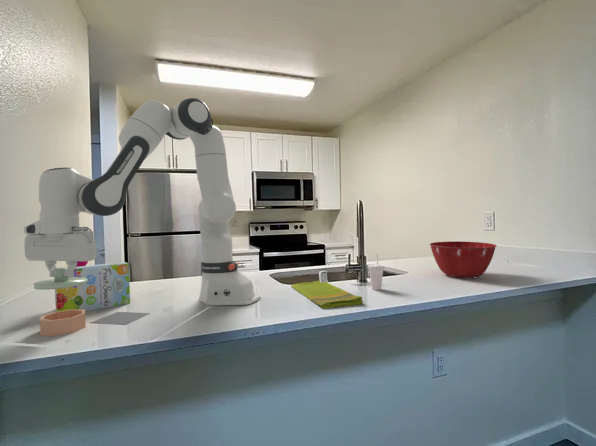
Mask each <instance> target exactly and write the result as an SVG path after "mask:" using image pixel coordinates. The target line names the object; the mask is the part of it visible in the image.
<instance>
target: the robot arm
mask: <svg viewBox="0 0 596 446" xmlns="http://www.w3.org/2000/svg"><path fill="white" fill-rule="evenodd" d="M165 135H166V136H168V137H170V138H171V139H173V140H179V141H180V140H181V141H182V140H186V139H188V138H189V139H190V140H191V142H192V144H193V147H194V158H195V159H194V160H195V166H196V167H195V168H196V178H197V182H198V185H199V190H200V195H201V200H200V202H199V203H198V223H199V233H200V239H201V262H200V274H201V275H200V276H201V283H200V284H201V285H200V292H199V297H198V302H202V303H203V305H208V306H209V305H211V306H247V305H251V304H254V303H255V302H257V301H258V300H260V298H261V294H260V293H257V292H255V288H254V283H253V282H252V280H251V279H250V278H249V277H247V276H246V275H244V274H243V273H241V271H239V270H238V267H239V264H240V262H236V261H234V258H233V238H232V236H231V235H232V234H231V230H230V224H229V222H230V221H231V220H232V219H233V217H234V216H235V214H236V210H237V205H236V202H235V200H234V195H233V191H232V186H231V183H230V180H229V179H230V178H229V171H228V162H227V152H226V145H225V141H224V138H223V134H222V130H220V129H219V128H218V127H217V126H215V125H214V121H213V118H212V115H211V112H210V109H209V107H208V105H207V104H206V103H205V102H204V101H203V100H202V99H199V98H197V97H189V98H185V99H183V100H182V101H181V102H179V103H177V104H175V105H174V106H172V107H168V106H167V105H166V104H165V103H163V102H161V101H158V100H155V99H149V100H146V101H145V102H144V103H143V104H142V105H140V106H139V107H138V108H137V109H136V110H135V111H134V112H133V113H132V114H131V116H130V117H129V118H128V119H127V121H126V122H125V124H124V125H123V126H122V128H121V130H120V133H119V135H118V143H119V145H120V147H121V148H120V151H119V153H118V154H117V156H116V157H115V159H114V160H113V161H112V163H111V164H110V166H109V167H108V169H107V170H106V171H105V173H104V174H102V175H100V177H97V178H95V179H92V178H90V177H87V176H85V175H84V174H81V173H80V172H78V171H76V169H74V168H72V167H53V168H50V169H46V170H45V171H42V173H41V174H40V176H39V182H38V202H39V204H40V212H39V217H38V218H39V220H37V221H34V222H32V223H30V224H27V225H25V226H24V228H23V233H24V234H25V235H26V236H25V238H24V247H23V248H24V256H25V258H26V259H27V261H35V262H38V261H39V262H40V261H41V262H45V267H46V268H47V271H48V273H49V278H54V269H55V268H57V266H56V264H58V263H57V262H65V265H66V266H67V270H66V271H63V273H64V277H65V278H70V277H73V276H74V269H75V267H76V265H77V261H88V262H91V261H95V260H96V258H97V256H98V255H97V245H96V239H95V237H94V231H92V229H91V228H90V227H88V226H80V213H86V214H89V215H94V216H95V215H96V216H100V217H106V216H107V217H108V216H112V215H116V214H117V213H118V212H120V211H121V210H122V208H124V205H125V204H126V203H125V202H126V199H127V194H128V188H129V186H130V184H131V181H132V180H133V178H134V177H135V175H136V174H137V172H138V171H139V170H140V167H141V166H142V164H143V162H144V161H145V160H146V159H147V158H148V157H149V156H150V155H151V154H152V153H153V152H154V151H155V150H156V148H157V147H158V146H159V145H160V143H161V142H162V140H163V139H164V137H165Z"/></svg>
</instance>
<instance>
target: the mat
mask: <svg viewBox="0 0 596 446" xmlns="http://www.w3.org/2000/svg"><path fill="white" fill-rule="evenodd" d="M150 314H151V313H149V312H135V311H134V312H130V311H129V312H128V311H116V312H114V313H111V314H109V315H106V316H103V317H101V318H97V319H95V320H93V321H91V322H89V324H101V325H102V324H103V325H117V326H118V325H119V326H127V325H129V324H131V323H133V322H136V321H138V320H140V319H142V318H144V317H146V316H149V315H150Z"/></svg>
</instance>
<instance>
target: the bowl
mask: <svg viewBox="0 0 596 446" xmlns="http://www.w3.org/2000/svg"><path fill="white" fill-rule="evenodd" d="M86 327H87V325H86V311H85V310H77V309H72V310H65V311H58V312H56V311H53V312H50V313H48V314H44V315H41V316H40V319H39V330H40V331H39V334H40V336H44V337H45V336H47V337H50V336H51V337H56V336H62V335H66V334H72V333H75V332H77V331H81V330H83V329H85V328H86Z"/></svg>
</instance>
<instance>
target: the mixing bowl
mask: <svg viewBox="0 0 596 446" xmlns="http://www.w3.org/2000/svg"><path fill="white" fill-rule="evenodd" d="M429 246H430V248H431V253H432V254H433V255H432V256H433V258H434V260H435V263H436V264H437V266H438V268H439V270H440V271H441V272H442V274H445V275H446V276H448V277H450V278H454V277H455V278H456V279H465V278H471V279H476V278H475V277H477V278H479V277H481V275H484V273H485V272H486V271H487V269H488V267H489V266H490V264H491V261H492V259H493V257H494V255H495V252H496V251H495V250H496V247H497V245H496V244H494V243H489V242H482V241H481V242H480V241H479V242H477V241H459V240H458V241H456V240H455V241H453V240H452V241H450V240H449V241H436V242H431V243H429Z"/></svg>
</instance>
